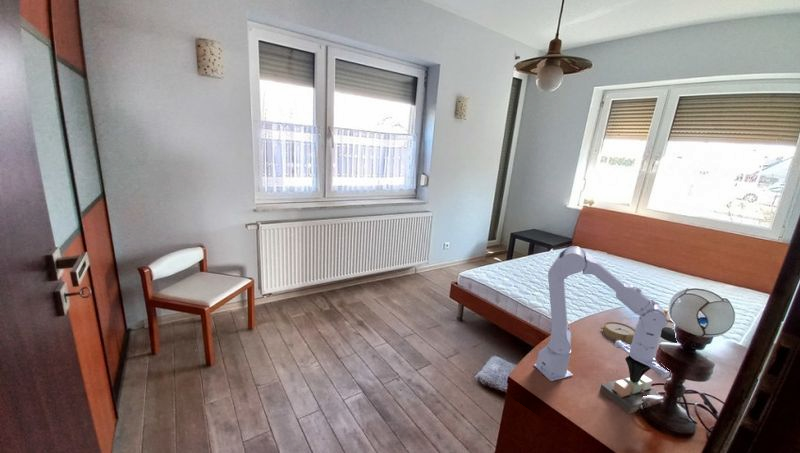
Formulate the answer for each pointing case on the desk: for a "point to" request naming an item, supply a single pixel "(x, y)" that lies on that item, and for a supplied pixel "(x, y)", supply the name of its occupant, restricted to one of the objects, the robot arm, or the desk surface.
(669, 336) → the medicine bottle
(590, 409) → the desk surface
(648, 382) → the white cube
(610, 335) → the alarm clock
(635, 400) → the console
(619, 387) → the peach cube
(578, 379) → the desk surface
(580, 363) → the desk surface
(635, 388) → the pale green cube
